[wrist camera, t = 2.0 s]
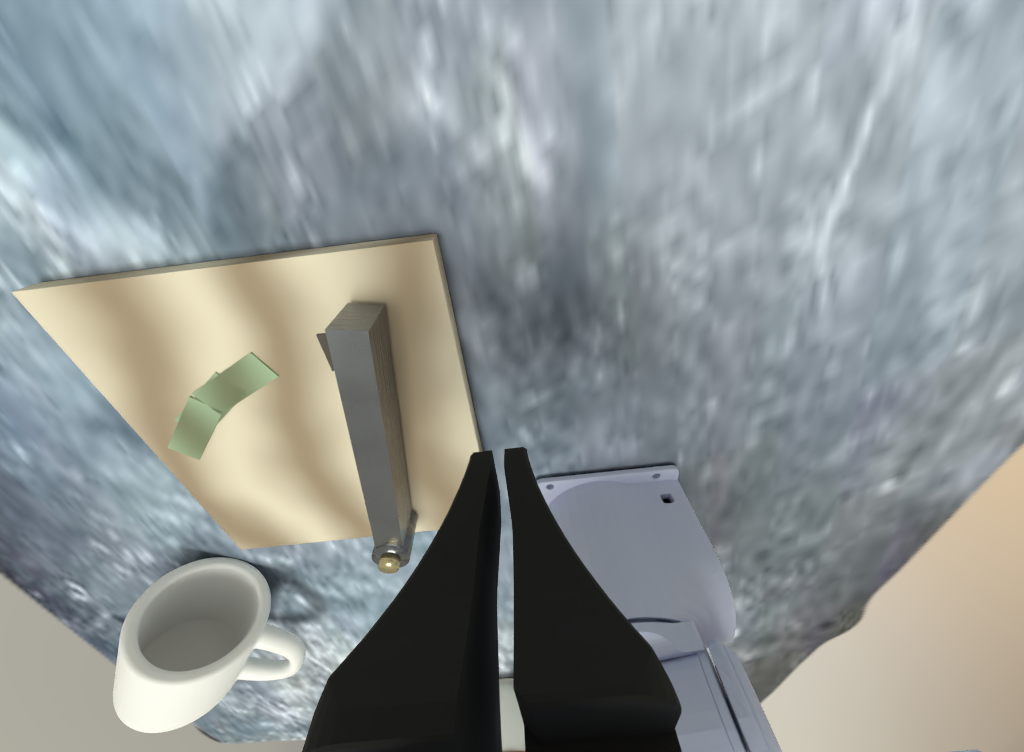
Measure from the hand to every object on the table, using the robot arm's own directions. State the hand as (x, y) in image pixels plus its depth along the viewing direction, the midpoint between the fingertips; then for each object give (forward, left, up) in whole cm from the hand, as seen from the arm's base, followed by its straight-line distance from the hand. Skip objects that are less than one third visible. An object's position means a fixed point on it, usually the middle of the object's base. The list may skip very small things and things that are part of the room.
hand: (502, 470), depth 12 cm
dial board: (+11, +4, -8) cm, 14 cm away
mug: (+24, +21, -9) cm, 33 cm away
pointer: (+7, +4, -7) cm, 11 cm away
